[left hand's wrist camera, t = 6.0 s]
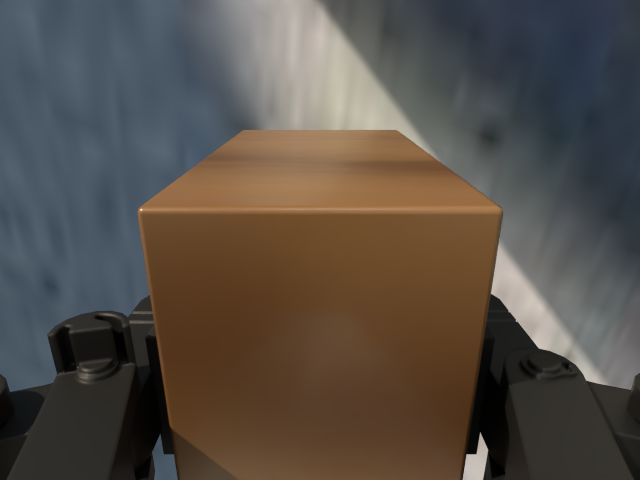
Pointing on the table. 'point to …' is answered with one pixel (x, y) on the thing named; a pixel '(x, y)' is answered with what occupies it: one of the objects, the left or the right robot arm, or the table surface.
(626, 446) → the left robot arm
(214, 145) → the table surface
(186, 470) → the bar
